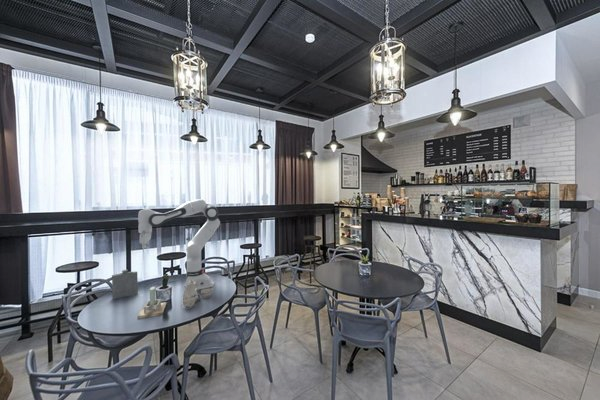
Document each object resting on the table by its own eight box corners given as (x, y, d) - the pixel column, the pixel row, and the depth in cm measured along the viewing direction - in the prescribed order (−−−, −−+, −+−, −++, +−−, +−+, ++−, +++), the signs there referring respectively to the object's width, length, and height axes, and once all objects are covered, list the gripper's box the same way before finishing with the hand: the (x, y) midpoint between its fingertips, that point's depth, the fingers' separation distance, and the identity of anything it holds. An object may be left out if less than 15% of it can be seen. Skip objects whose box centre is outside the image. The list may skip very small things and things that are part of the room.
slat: (155, 306, 166) (155, 286, 165) (154, 310, 161) (153, 289, 161) (151, 307, 165) (151, 287, 164) (149, 310, 160) (149, 289, 160)
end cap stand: (166, 304, 173) (166, 296, 173) (162, 314, 158) (162, 306, 158) (143, 307, 168) (143, 299, 168) (137, 318, 153) (137, 310, 153)
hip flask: (112, 299, 182) (111, 272, 181) (113, 297, 185) (112, 271, 185) (137, 294, 190) (137, 269, 190) (138, 292, 194) (137, 267, 193)
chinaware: (191, 314, 162) (193, 290, 161) (169, 309, 165) (171, 285, 164) (214, 296, 189) (216, 276, 188) (196, 292, 192) (197, 272, 192)
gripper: (146, 231, 179) (147, 250, 180) (152, 227, 198) (153, 244, 199) (136, 232, 177) (137, 250, 177) (143, 228, 196) (144, 245, 197)
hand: (145, 247), depth 188 cm, fingers open, 8 cm apart
